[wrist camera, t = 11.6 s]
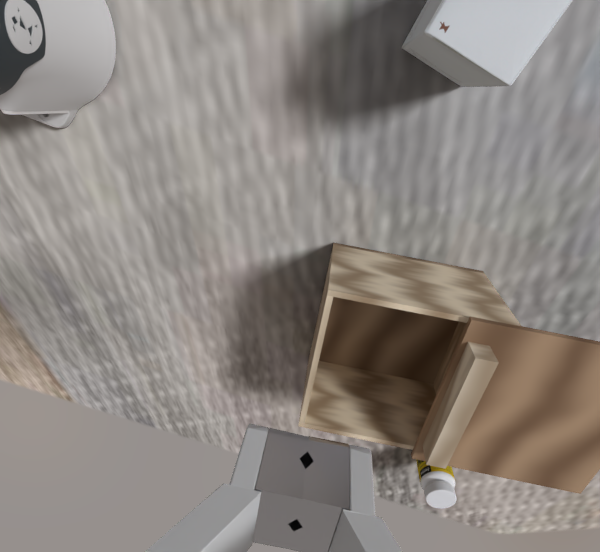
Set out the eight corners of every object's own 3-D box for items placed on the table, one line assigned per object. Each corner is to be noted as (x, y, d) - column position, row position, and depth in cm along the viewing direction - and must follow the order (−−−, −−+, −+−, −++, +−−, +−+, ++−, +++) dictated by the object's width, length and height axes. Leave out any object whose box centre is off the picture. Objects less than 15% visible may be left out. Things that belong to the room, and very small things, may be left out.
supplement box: (462, 89, 38) (509, 92, 27) (399, 47, 37) (419, 32, 26) (517, 9, 35) (596, -26, 24) (449, -39, 34) (497, -99, 23)
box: (308, 359, 55) (298, 426, 44) (333, 242, 47) (328, 289, 36) (435, 385, 54) (455, 459, 43) (482, 271, 46) (522, 328, 35)
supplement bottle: (420, 432, 58) (430, 484, 51) (451, 440, 58) (465, 493, 51) (409, 453, 61) (417, 505, 53) (438, 461, 61) (451, 514, 53)
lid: (411, 453, 44) (414, 477, 41) (469, 316, 35) (479, 335, 32) (577, 488, 43) (592, 515, 40) (678, 357, 34) (705, 380, 32)
